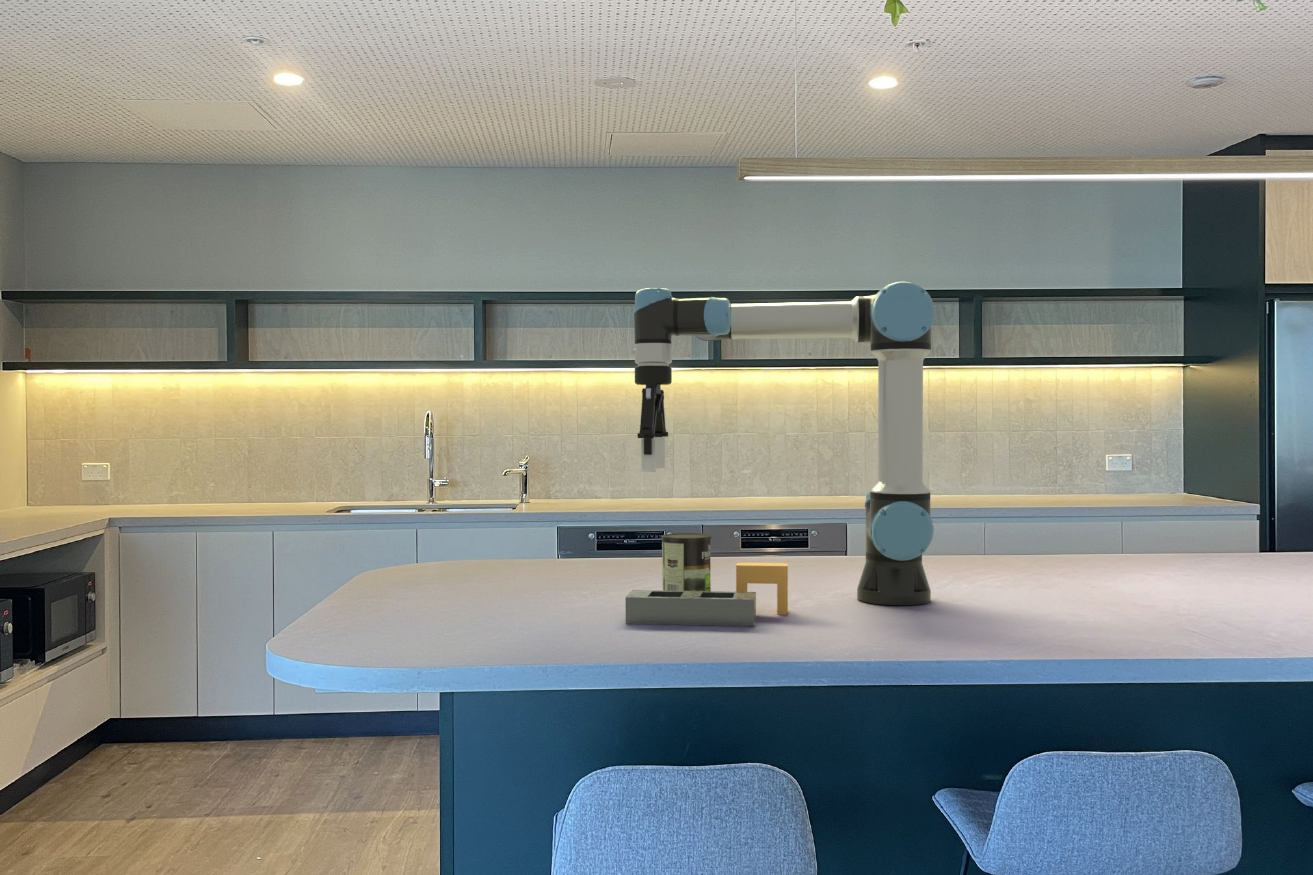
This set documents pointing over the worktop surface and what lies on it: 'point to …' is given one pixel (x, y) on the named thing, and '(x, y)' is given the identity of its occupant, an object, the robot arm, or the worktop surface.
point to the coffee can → (686, 562)
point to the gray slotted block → (691, 608)
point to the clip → (765, 580)
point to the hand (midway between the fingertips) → (653, 470)
